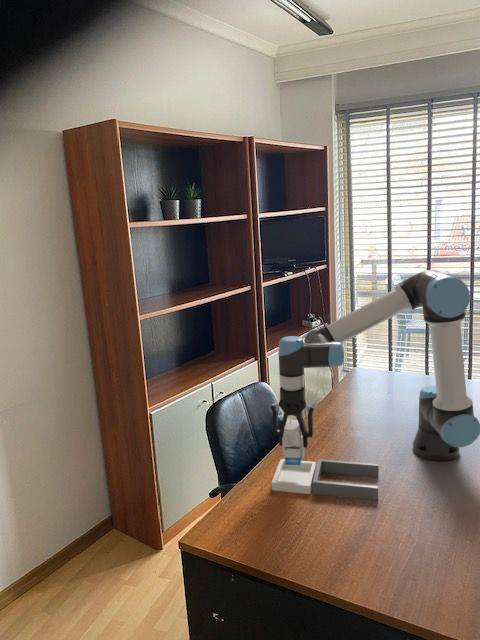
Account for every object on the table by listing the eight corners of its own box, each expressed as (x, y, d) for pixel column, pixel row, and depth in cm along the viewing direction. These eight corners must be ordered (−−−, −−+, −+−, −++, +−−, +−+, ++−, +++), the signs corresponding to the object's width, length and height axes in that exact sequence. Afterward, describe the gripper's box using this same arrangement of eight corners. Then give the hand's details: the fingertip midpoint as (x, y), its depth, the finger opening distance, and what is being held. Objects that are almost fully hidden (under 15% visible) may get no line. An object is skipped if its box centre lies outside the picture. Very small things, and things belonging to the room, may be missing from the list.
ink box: (300, 466, 158) (299, 431, 156) (284, 465, 159) (283, 430, 157) (302, 452, 167) (301, 419, 164) (287, 451, 168) (286, 418, 165)
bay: (378, 475, 164) (378, 464, 164) (378, 500, 151) (378, 488, 150) (318, 470, 170) (318, 459, 169) (313, 493, 156) (312, 482, 155)
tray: (316, 469, 170) (316, 461, 169) (310, 494, 156) (310, 486, 155) (280, 466, 173) (280, 458, 173) (271, 490, 159) (271, 482, 159)
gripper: (322, 383, 159) (323, 452, 164) (265, 380, 163) (268, 447, 169) (320, 392, 152) (321, 463, 157) (260, 389, 156) (263, 458, 162)
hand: (293, 455), depth 163 cm, fingers closed on ink box, 5 cm apart
